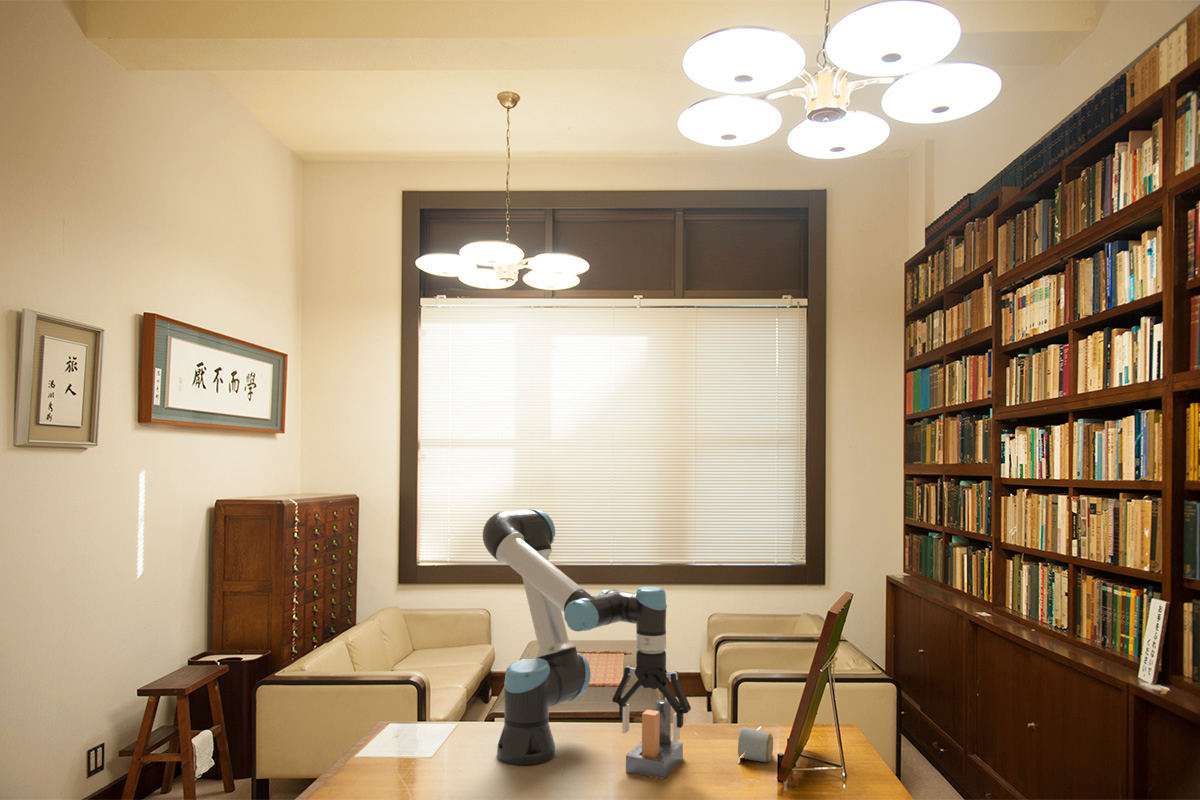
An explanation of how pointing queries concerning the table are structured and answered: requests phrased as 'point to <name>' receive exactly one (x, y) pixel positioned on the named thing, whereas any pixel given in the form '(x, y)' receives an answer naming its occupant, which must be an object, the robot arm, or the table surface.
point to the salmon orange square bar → (650, 733)
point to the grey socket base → (667, 749)
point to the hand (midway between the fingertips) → (650, 736)
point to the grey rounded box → (755, 744)
